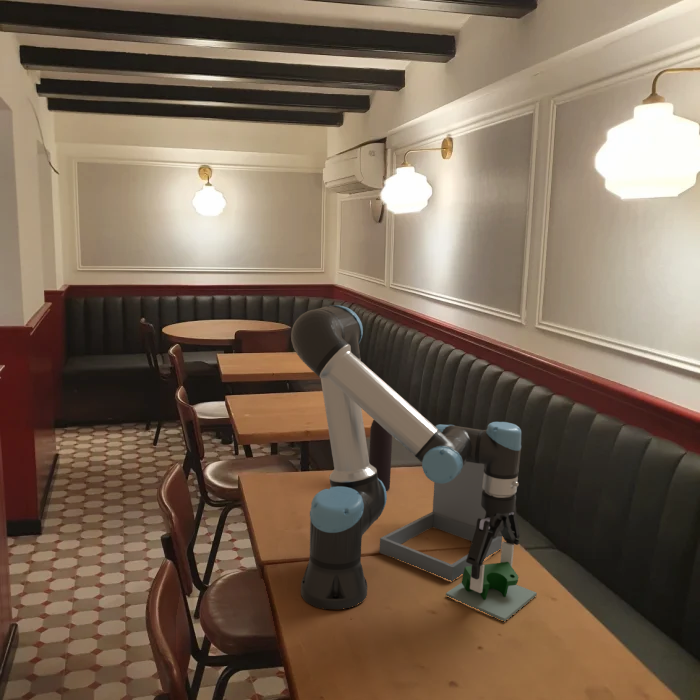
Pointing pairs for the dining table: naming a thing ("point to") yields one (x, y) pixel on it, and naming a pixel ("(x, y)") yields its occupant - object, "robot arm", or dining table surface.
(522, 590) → the mat
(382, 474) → the wine bottle
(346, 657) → the dining table surface
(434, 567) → the case
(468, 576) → the clamp
